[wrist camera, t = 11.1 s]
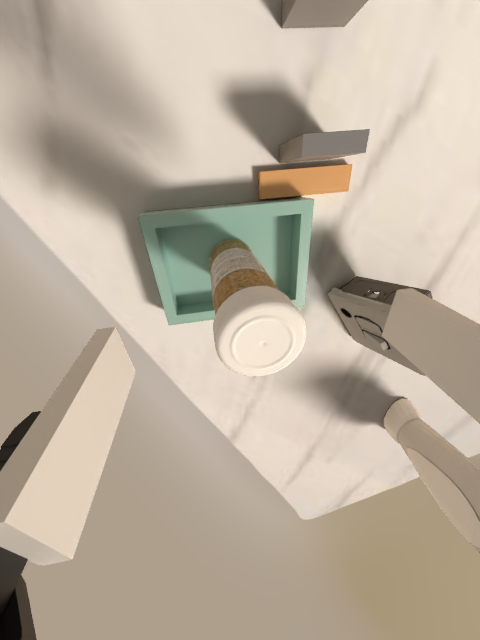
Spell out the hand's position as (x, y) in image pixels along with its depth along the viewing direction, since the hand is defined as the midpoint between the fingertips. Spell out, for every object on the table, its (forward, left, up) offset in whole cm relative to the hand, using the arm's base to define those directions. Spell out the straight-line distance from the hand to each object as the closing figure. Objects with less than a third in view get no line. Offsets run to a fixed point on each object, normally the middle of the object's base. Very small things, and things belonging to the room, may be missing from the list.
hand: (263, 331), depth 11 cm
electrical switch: (+7, +15, -14) cm, 22 cm away
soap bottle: (+32, +29, -14) cm, 46 cm away
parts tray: (0, 0, -14) cm, 13 cm away
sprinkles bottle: (0, 0, -13) cm, 13 cm away
